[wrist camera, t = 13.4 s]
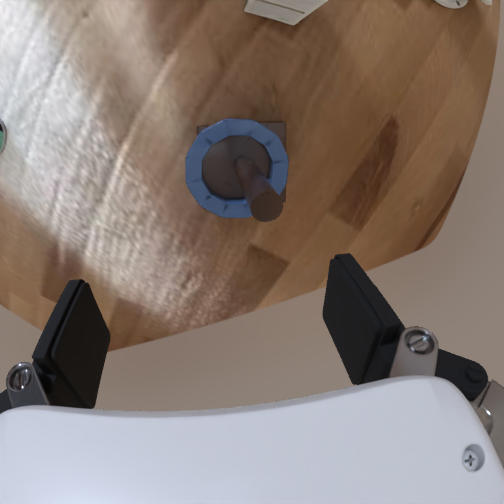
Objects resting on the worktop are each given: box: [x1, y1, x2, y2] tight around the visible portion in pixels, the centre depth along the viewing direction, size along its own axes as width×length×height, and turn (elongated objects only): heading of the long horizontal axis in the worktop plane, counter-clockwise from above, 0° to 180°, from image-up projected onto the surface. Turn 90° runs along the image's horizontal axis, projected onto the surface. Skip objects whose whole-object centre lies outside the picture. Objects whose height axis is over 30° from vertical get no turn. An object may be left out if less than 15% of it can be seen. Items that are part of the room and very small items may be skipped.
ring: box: [186, 118, 289, 218], centre depth 29 cm, size 10×10×2 cm
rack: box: [197, 121, 286, 222], centre depth 25 cm, size 9×9×13 cm
